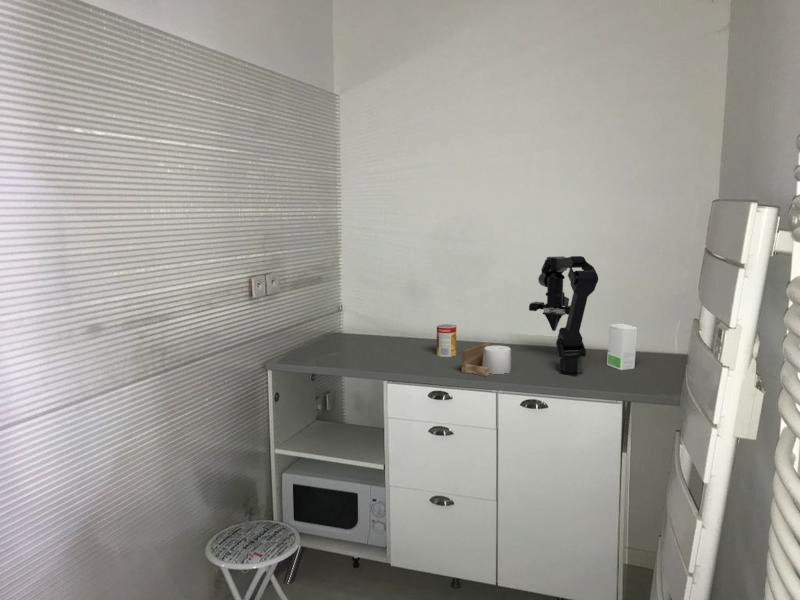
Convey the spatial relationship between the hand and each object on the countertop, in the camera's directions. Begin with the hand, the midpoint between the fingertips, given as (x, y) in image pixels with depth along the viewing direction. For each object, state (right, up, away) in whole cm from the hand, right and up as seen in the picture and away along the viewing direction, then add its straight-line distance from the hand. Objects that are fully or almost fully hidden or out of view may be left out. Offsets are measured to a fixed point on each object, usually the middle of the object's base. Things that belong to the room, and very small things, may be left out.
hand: (554, 330), depth 245 cm
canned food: (-40, -11, +16) cm, 44 cm away
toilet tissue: (-24, -15, -12) cm, 31 cm away
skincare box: (+23, -13, -7) cm, 28 cm away
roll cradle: (-27, -14, -9) cm, 31 cm away
